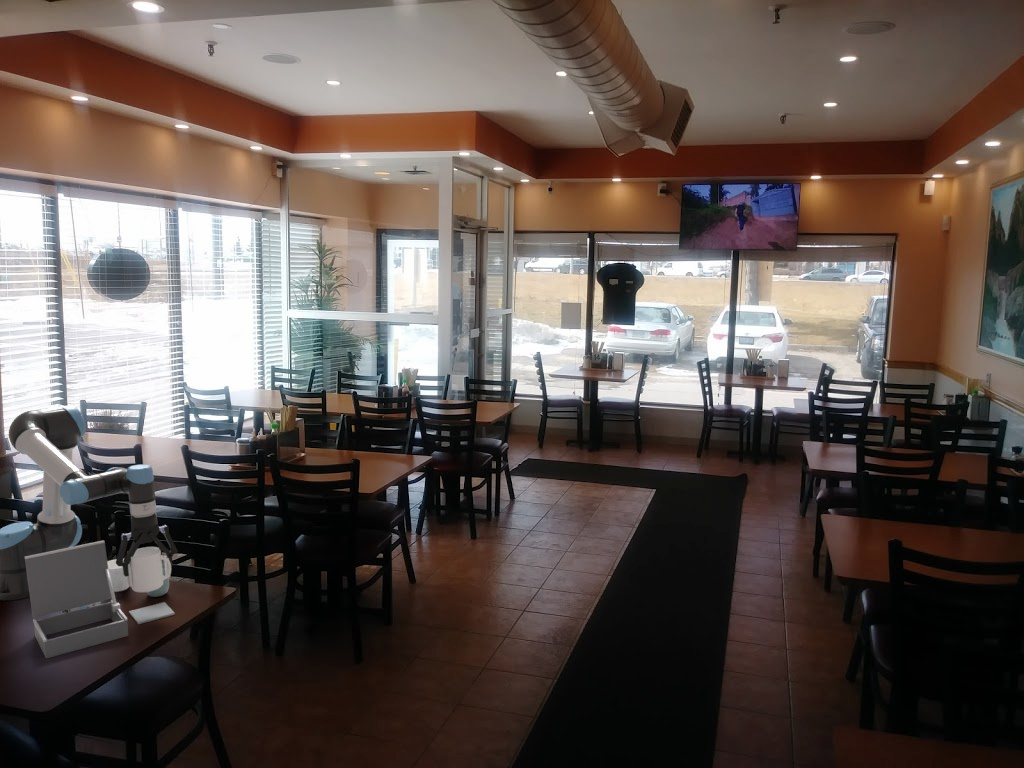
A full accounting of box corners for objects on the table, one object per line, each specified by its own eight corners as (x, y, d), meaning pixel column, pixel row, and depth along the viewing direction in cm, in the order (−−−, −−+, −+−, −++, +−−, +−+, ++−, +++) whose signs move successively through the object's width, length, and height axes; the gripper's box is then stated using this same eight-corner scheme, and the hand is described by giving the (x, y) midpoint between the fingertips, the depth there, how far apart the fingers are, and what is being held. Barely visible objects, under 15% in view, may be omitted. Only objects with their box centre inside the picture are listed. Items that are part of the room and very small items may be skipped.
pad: (129, 612, 262) (129, 611, 262) (164, 603, 269) (164, 602, 269) (138, 624, 254) (138, 622, 254) (174, 614, 260) (174, 612, 260)
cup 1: (114, 582, 287) (112, 557, 286) (140, 584, 286) (138, 558, 285) (96, 594, 278) (94, 568, 276) (123, 595, 276) (121, 569, 275)
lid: (33, 618, 245) (32, 617, 246) (112, 598, 259) (111, 597, 260) (25, 557, 245) (24, 556, 246) (104, 540, 259) (103, 540, 260)
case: (33, 635, 247) (28, 585, 245) (114, 614, 261) (109, 567, 259) (45, 658, 232) (40, 606, 230) (130, 635, 246) (125, 585, 244)
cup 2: (149, 601, 271) (147, 572, 270) (142, 594, 277) (139, 566, 275) (173, 594, 276) (171, 566, 275) (165, 588, 282) (163, 560, 280)
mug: (131, 584, 262) (127, 550, 260) (171, 577, 267) (168, 543, 265) (132, 595, 253) (128, 559, 252) (173, 587, 259) (170, 552, 257)
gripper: (106, 524, 246) (113, 593, 249) (185, 509, 261) (190, 574, 264) (100, 518, 252) (107, 586, 255) (177, 504, 266) (183, 568, 270)
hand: (149, 580), depth 260 cm, fingers closed on mug, 11 cm apart
